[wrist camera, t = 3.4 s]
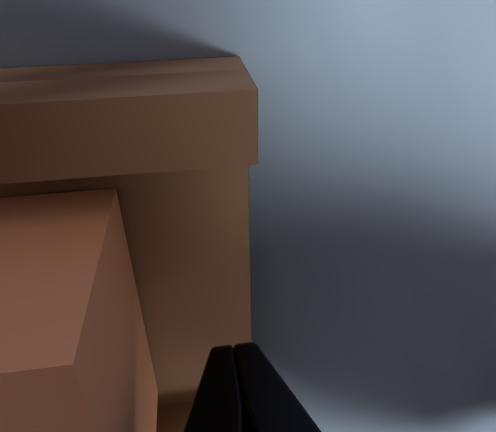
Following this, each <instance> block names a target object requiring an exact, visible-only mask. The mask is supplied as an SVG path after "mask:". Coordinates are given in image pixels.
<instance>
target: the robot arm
mask: <svg viewBox="0 0 496 432" xmlns="http://www.w3.org/2000/svg"><path fill="white" fill-rule="evenodd" d="M183 432H321V431H320V429H319V428H318V427H317V425H316V424H315V422H314V421H313V420H312V418H311V417H310V416H309V414H308V413H307V412H306V410H305V409H304V408H303V406H302V405H301V403H300V402H299V401H298V399H297V398H296V397H295V395H294V394H293V393H292V391H291V390H290V389H289V387H288V386H287V385H286V383H285V382H284V380H283V379H282V378H281V376H280V375H279V374H278V372H277V371H276V370H275V368H274V367H273V366H272V364H271V363H270V361H269V360H268V359H267V357H266V356H265V355H264V353H263V352H262V351H261V349H260V348H259V347H258V345H257V344H256V343H254V342H246V343H238V344H236V345H234V348H233V346H232V345H222V346H215V347H213V348H212V349H211V350H210V353H209V356H208V359H207V362H206V365H205V368H204V371H203V374H202V377H201V380H200V383H199V386H198V389H197V392H196V395H195V398H194V401H193V404H192V407H191V410H190V413H189V416H188V419H187V422H186V425H185V427H184V430H183Z"/></svg>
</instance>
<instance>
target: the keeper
mask: <svg viewBox="0 0 496 432" xmlns="http://www.w3.org/2000/svg"><path fill="white" fill-rule="evenodd" d="M157 400H158V389H157V384H156V380H155V375H154V370H153V365H152V360H151V355H150V351H149V346H148V341H147V336H146V331H145V326H144V322H143V317H142V312H141V307H140V302H139V297H138V293H137V288H136V283H135V278H134V273H133V269H132V264H131V259H130V254H129V249H128V244H127V240H126V235H125V230H124V225H123V220H122V215H121V211H120V206H119V201H118V196H117V191H116V188H114V189H102V190H89V191H77V192H65V193H52V194H40V195H28V196H16V197H3V198H0V432H156V426H157Z"/></svg>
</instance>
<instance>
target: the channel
mask: <svg viewBox="0 0 496 432" xmlns="http://www.w3.org/2000/svg"><path fill="white" fill-rule="evenodd" d="M253 164H258V89H257V87H256V85H255V83H254V82H253V80H252V78H251V76H250V75H249V73H248V71H247V69H246V68H245V66H244V64H243V62H242V60H241V59H240V57H239V56H235V57H215V58H195V59H175V60H155V61H135V62H115V63H95V64H75V65H55V66H36V67H16V68H0V198H3V197H16V196H28V195H40V194H52V193H65V192H77V191H89V190H102V189H114V188H116V191H117V196H118V201H119V206H120V211H121V215H122V220H123V225H124V230H125V235H126V240H127V244H128V249H129V254H130V259H131V264H132V269H133V273H134V278H135V283H136V288H137V293H138V297H139V302H140V307H141V312H142V317H143V322H144V326H145V331H146V336H147V341H148V346H149V351H150V355H151V360H152V365H153V370H154V375H155V380H156V384H157V389H158V400H157V426H156V432H183V430H184V427H185V425H186V422H187V419H188V416H189V413H190V410H191V407H192V404H193V401H194V398H195V395H196V392H197V389H198V386H199V383H200V380H201V377H202V374H203V371H204V368H205V365H206V362H207V359H208V356H209V353H210V350H211V349H212V348H213V347H215V346H222V345H232V346H233V348H234V345H236V344H238V343H246V342H252V333H251V280H250V228H249V176H248V165H253Z"/></svg>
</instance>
